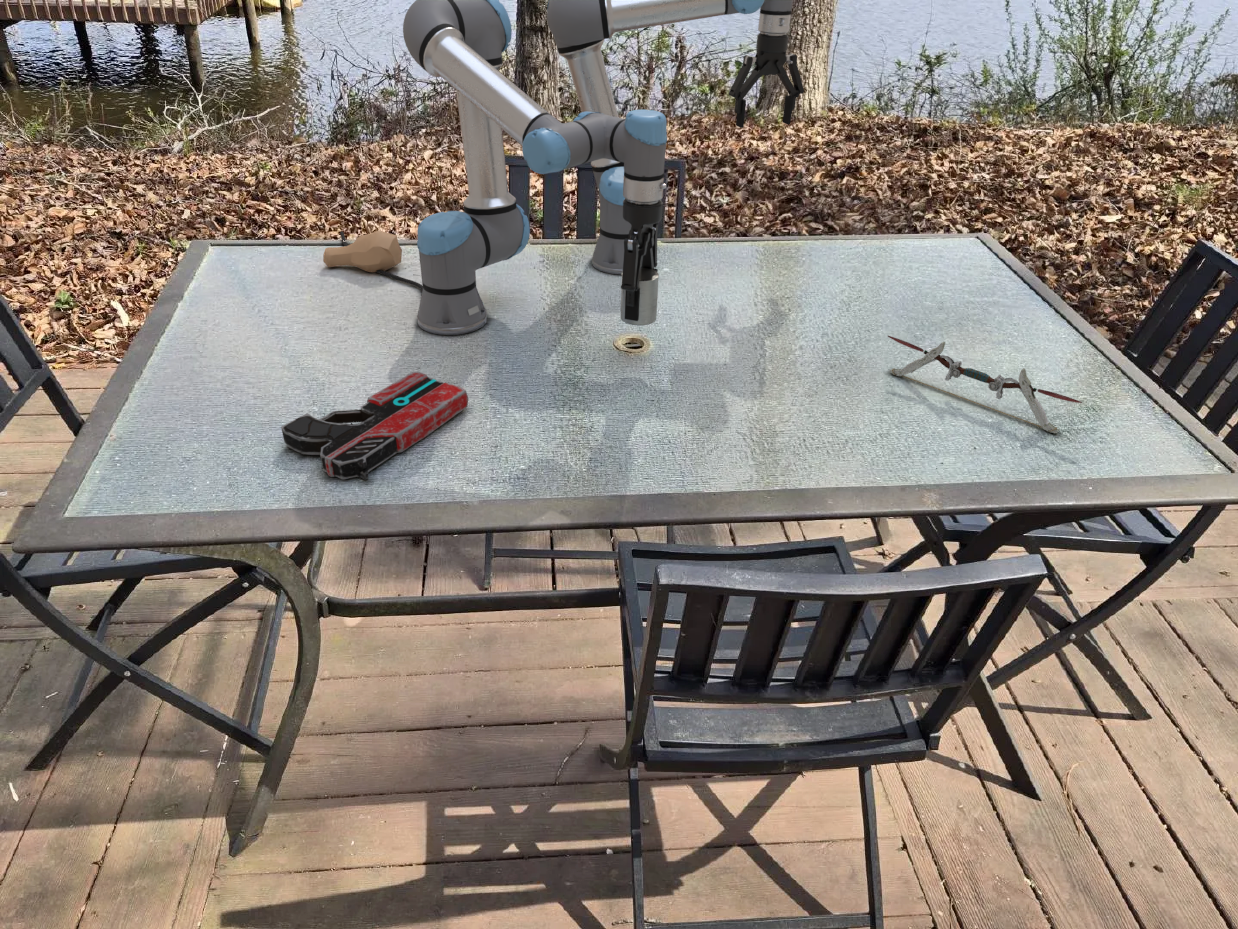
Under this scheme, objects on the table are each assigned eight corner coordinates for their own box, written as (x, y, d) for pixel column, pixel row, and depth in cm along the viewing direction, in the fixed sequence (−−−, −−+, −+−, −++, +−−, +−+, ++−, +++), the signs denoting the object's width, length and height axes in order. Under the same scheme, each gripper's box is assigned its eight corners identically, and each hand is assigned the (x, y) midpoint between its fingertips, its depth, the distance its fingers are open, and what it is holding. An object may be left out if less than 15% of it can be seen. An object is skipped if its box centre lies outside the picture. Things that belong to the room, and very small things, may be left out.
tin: (617, 323, 176) (618, 279, 171) (624, 308, 182) (625, 265, 177) (653, 327, 175) (655, 282, 170) (659, 312, 181) (661, 269, 176)
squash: (402, 276, 219) (391, 244, 212) (324, 283, 220) (312, 251, 214) (409, 253, 226) (400, 222, 220) (335, 261, 228) (323, 229, 222)
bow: (1071, 436, 162) (1088, 388, 156) (1067, 439, 161) (1085, 392, 155) (883, 367, 183) (892, 323, 178) (878, 369, 182) (888, 325, 177)
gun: (267, 431, 148) (351, 468, 140) (394, 358, 170) (473, 387, 162) (272, 453, 151) (354, 490, 143) (397, 379, 173) (474, 408, 165)
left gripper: (644, 217, 156) (639, 334, 169) (677, 187, 172) (670, 296, 185) (605, 211, 158) (603, 328, 171) (641, 182, 174) (637, 290, 187)
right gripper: (734, 36, 206) (726, 131, 217) (825, 33, 213) (812, 125, 225) (720, 32, 211) (712, 124, 223) (809, 29, 219) (797, 118, 231)
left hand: (638, 311), depth 178 cm, fingers closed on tin, 7 cm apart
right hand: (763, 124), depth 224 cm, fingers open, 13 cm apart
